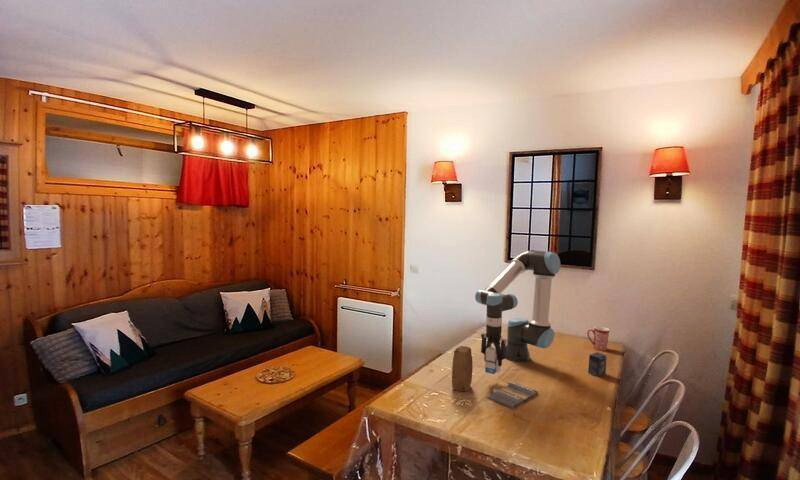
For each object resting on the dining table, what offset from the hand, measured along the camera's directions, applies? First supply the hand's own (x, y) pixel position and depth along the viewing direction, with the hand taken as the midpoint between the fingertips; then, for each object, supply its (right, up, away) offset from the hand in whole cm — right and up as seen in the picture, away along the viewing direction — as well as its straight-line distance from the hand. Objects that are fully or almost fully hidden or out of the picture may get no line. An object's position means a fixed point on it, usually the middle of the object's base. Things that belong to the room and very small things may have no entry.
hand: (492, 369), depth 196 cm
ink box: (0, -1, 0) cm, 1 cm away
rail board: (+7, -8, -14) cm, 17 cm away
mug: (+81, -5, +56) cm, 99 cm away
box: (+60, -7, +15) cm, 62 cm away
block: (-17, -7, -6) cm, 19 cm away
